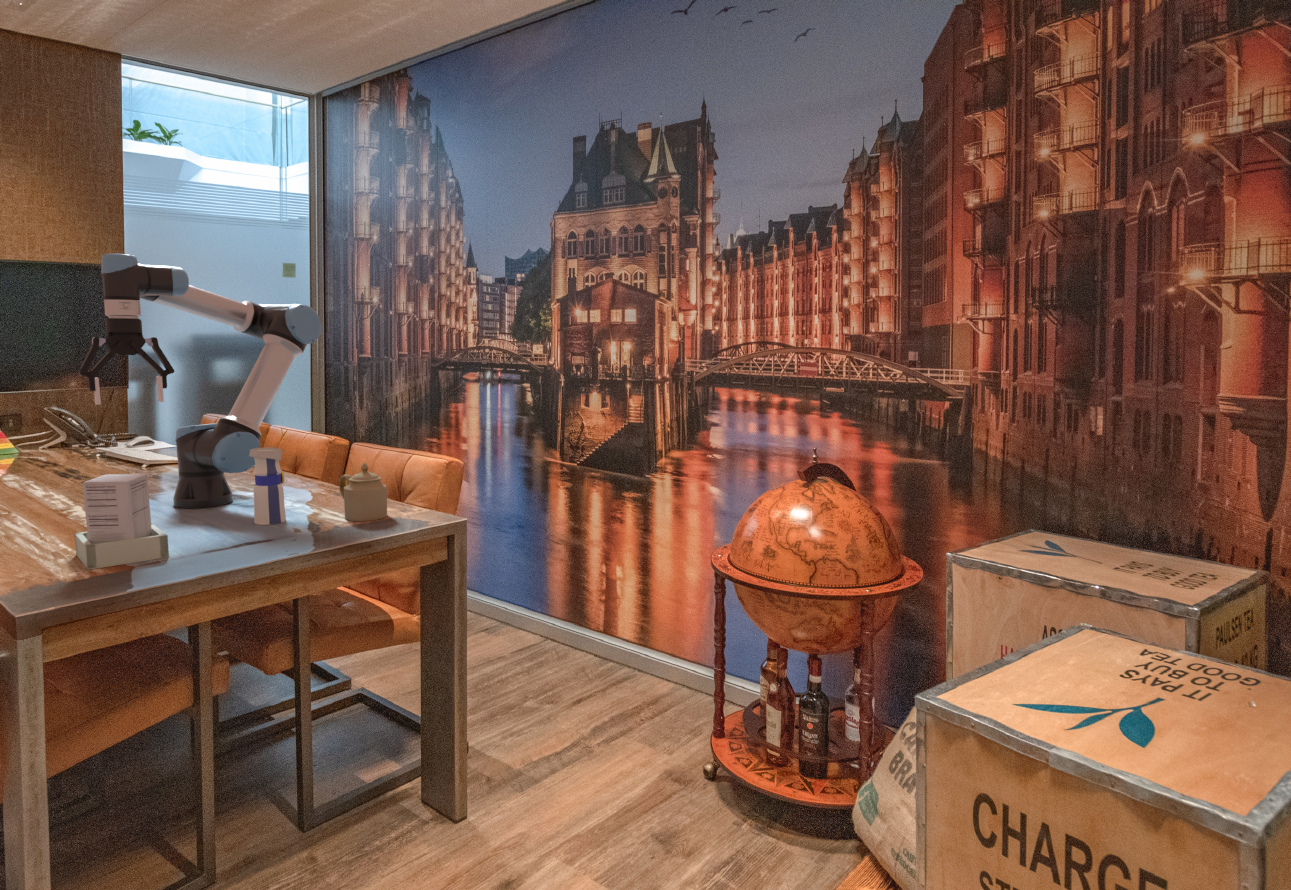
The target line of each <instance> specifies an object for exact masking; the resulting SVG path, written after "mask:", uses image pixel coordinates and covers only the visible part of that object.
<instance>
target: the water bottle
mask: <svg viewBox="0 0 1291 890" xmlns="http://www.w3.org/2000/svg"><path fill="white" fill-rule="evenodd" d="M280 430H281V437H282V439H284V433H283V432H284V431H283V427H281V428H280ZM283 452H284V451H283V448H282V449H279V448H278V447H275V446H274V447H273V446H271V447H270V446H269V447H267V446H266V447H260V448H255V449H251V450H250V453H249V456H250V457H254V460H255V465H254V469H253V472H252V474H253V475H254V481H255V482H254V483H255V484H254V486H253V487H254V488H253V503H254V504H253V506H254V507H253V508H254V512H253V513H254V514H253V515H254V517H253V519H254V520H253V522H254V524H256V525H260V526H263V525H276V524H281V523H285V522H287V516H286V514H287V513H286V508H285V493H284V487H283V484H284V482H285V474H284V472H283V470H282V467H281V466H280V461H281V462H283V461H282V456H283Z"/></svg>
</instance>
